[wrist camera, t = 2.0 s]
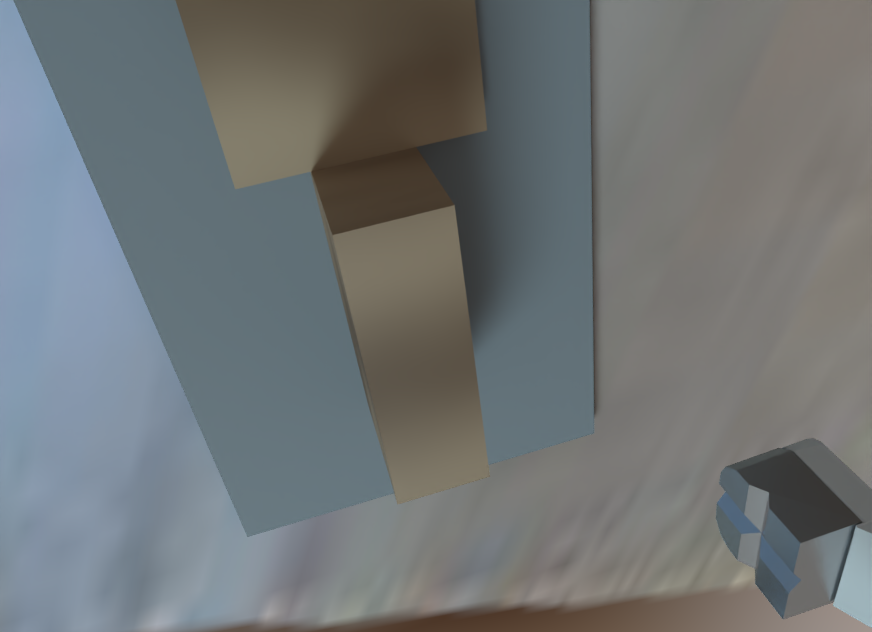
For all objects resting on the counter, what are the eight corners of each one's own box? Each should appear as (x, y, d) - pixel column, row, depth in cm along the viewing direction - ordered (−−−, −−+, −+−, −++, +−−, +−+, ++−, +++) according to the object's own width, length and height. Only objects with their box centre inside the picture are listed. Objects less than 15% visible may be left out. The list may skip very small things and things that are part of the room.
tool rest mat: (575, -317, 15) (585, -321, 14) (588, 423, 26) (594, 433, 26) (-74, -219, 13) (-83, -220, 13) (246, 524, 25) (247, 536, 24)
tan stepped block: (502, 367, 23) (552, 457, 20) (310, 421, 22) (331, 524, 19) (447, -169, 15) (517, -162, 12) (141, -116, 14) (128, -92, 11)
